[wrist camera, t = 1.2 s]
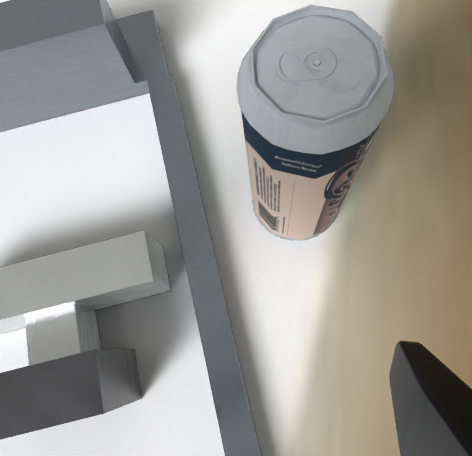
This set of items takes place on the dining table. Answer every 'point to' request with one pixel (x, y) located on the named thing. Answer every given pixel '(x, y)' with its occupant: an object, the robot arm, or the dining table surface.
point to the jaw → (73, 330)
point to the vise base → (170, 135)
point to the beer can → (310, 114)
